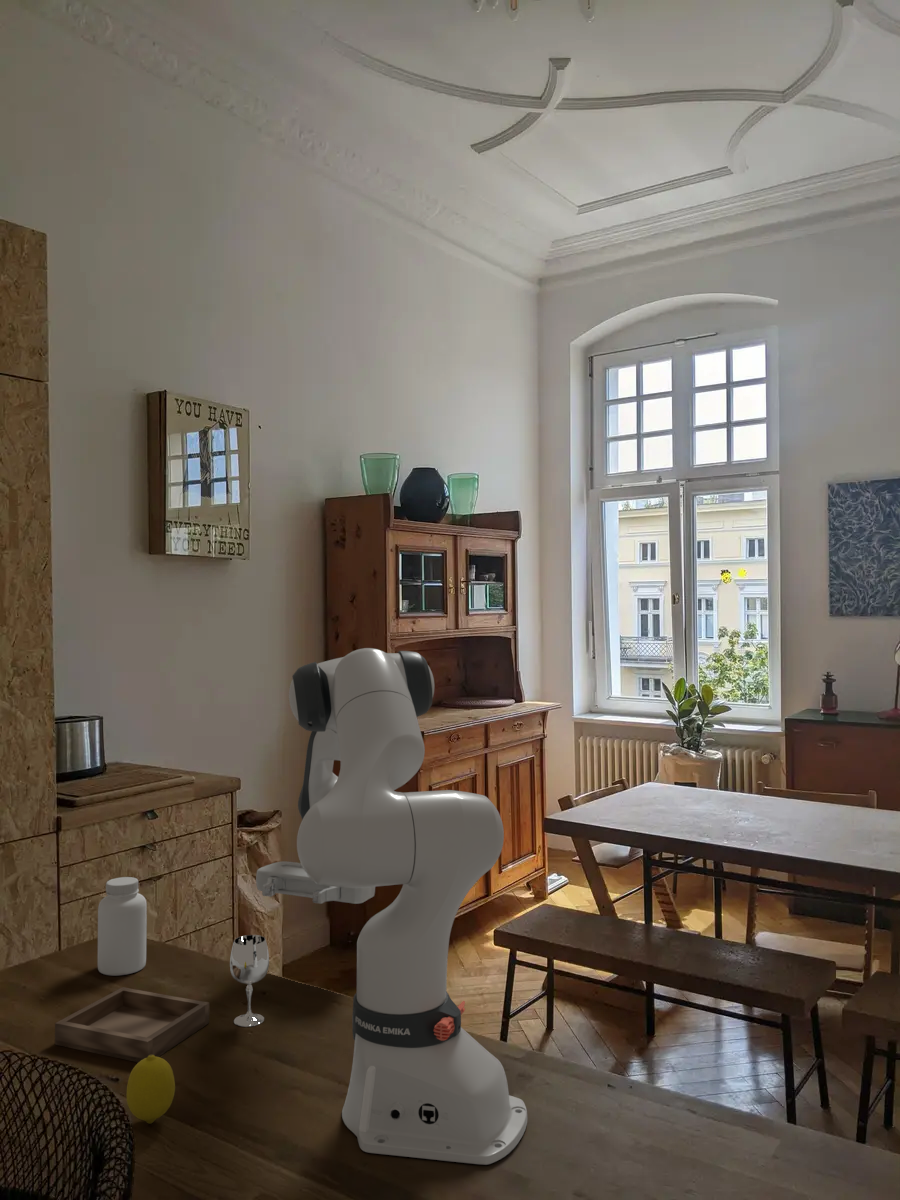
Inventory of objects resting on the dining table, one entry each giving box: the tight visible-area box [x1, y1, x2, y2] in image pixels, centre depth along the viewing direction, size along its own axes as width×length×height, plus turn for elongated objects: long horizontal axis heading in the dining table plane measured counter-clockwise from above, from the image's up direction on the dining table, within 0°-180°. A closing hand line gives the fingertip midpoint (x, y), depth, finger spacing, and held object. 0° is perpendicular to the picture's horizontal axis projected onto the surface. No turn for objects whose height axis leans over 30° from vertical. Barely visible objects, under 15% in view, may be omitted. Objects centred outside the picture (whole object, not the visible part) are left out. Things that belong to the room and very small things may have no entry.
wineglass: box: [229, 934, 270, 1028], centre depth 142 cm, size 6×6×12 cm
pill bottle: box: [97, 876, 148, 977], centre depth 163 cm, size 8×8×15 cm
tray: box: [54, 986, 210, 1063], centre depth 137 cm, size 16×14×3 cm
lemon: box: [125, 1055, 176, 1124], centre depth 113 cm, size 6×6×8 cm
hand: (290, 894), depth 154 cm, fingers open, 8 cm apart
